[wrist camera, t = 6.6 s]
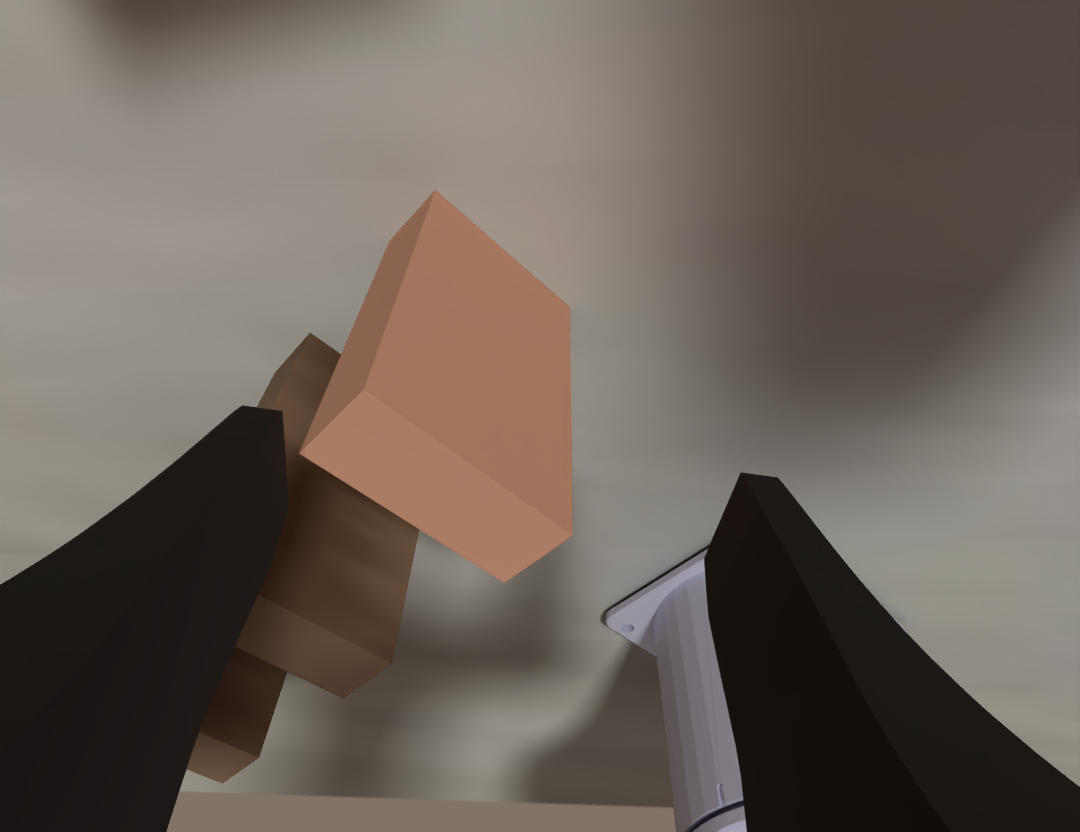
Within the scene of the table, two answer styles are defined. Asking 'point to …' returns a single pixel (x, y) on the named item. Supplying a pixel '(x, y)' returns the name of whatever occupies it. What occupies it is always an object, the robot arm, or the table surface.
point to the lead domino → (456, 396)
